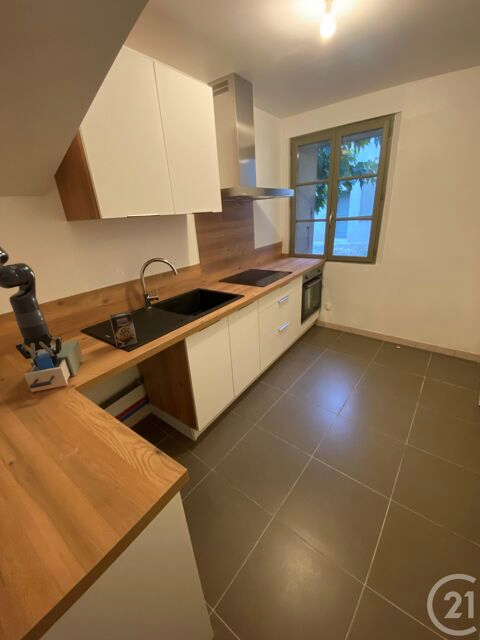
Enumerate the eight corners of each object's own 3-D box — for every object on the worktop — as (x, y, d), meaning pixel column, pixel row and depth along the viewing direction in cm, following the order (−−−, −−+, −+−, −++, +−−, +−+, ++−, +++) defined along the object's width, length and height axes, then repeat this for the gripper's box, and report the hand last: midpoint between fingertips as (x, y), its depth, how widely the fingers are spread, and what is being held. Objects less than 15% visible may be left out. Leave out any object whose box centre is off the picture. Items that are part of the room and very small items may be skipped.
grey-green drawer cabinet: (75, 376, 103) (68, 356, 100) (38, 383, 100) (30, 362, 97) (83, 359, 116) (77, 340, 113) (51, 364, 113) (44, 346, 110)
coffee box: (118, 350, 122) (110, 318, 116) (116, 345, 127) (108, 314, 121) (138, 345, 126) (131, 313, 121) (135, 340, 132) (128, 310, 126)
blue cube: (39, 370, 94) (35, 359, 92) (43, 364, 98) (39, 354, 96) (53, 367, 95) (49, 357, 93) (57, 361, 99) (53, 351, 97)
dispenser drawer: (63, 392, 92) (56, 375, 89) (25, 400, 89) (17, 382, 86) (76, 367, 108) (71, 351, 105) (45, 372, 105) (39, 356, 102)
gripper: (58, 316, 95) (72, 357, 102) (12, 322, 92) (29, 364, 98) (51, 323, 89) (66, 366, 95) (1, 330, 85) (20, 375, 91)
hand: (48, 365), depth 96 cm, fingers closed on blue cube, 4 cm apart
